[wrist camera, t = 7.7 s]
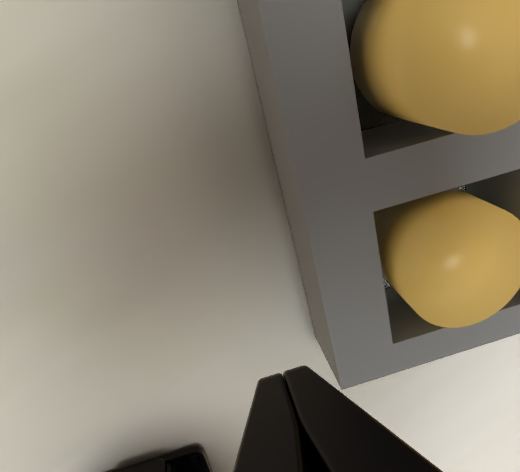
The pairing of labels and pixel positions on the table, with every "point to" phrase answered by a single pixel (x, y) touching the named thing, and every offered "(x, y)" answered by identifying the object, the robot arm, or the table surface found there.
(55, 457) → the table surface
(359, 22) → the button
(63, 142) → the table surface
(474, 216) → the button
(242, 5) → the board
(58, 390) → the table surface
